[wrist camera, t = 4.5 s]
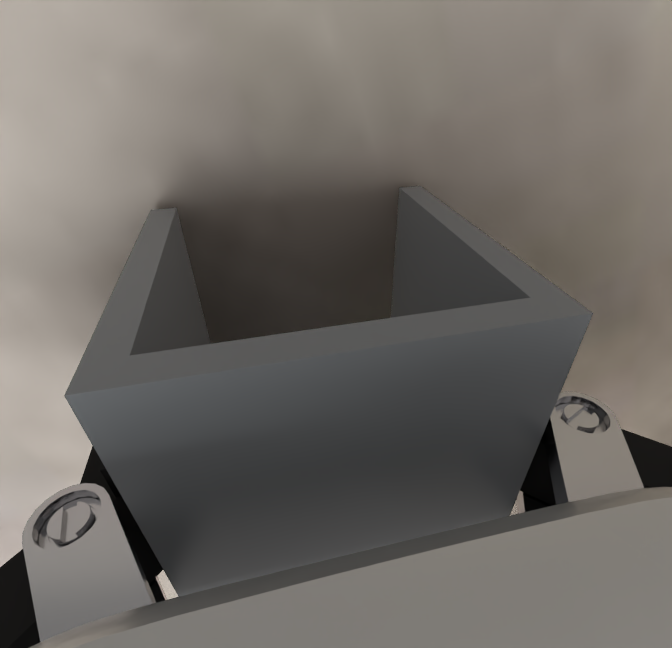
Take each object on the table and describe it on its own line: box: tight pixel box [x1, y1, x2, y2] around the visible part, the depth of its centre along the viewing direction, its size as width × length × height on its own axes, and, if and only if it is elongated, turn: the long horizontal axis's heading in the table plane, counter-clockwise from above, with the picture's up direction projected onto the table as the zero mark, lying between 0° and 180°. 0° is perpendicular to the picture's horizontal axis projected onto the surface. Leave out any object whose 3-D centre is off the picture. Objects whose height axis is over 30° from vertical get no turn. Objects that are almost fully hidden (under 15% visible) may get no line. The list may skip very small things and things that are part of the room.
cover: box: [65, 186, 593, 597], centre depth 10 cm, size 7×8×6 cm
